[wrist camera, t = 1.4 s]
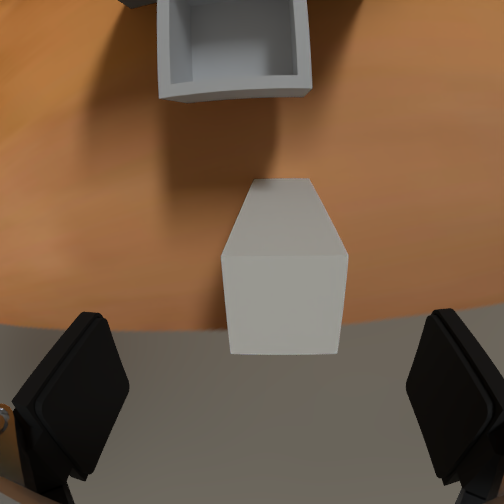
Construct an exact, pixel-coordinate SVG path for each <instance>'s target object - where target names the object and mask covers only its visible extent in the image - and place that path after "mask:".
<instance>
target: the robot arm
mask: <svg viewBox="0 0 504 504" xmlns="http://www.w3.org/2000/svg"><path fill="white" fill-rule="evenodd" d="M406 391H407V394H408V397H409V400H410V402H411V405H412V407H413V410H414V413H415V415H416V418H417V420H418V423H419V426H420V429H421V432H422V434H423V437H424V440H425V443H426V446H427V449H428V452H429V455H430V458H431V461H432V464H433V467H434V470H435V473H436V475H437V477H438V478H442V481H443V484H444V486H445V485H448V484H451V483H454V482H457V481H460V483H461V486H462V488H461V491H460V493H459V495H458V498H457V500H456V502H455V504H504V379H503V377H502V375H501V374H500V372H499V371H498V369H497V368H496V366H495V365H494V364H493V362H492V361H491V359H490V358H489V356H488V355H487V354H486V352H485V351H484V349H483V348H482V347H481V345H480V344H479V342H478V341H477V340H476V338H475V337H474V336H473V334H472V333H471V332H470V330H469V329H468V328H467V326H466V325H465V324H464V323H463V321H462V320H461V319H460V317H459V316H458V315H457V314H456V312H455V311H454V310H453V309H451V308H448V309H438V310H434V311H433V312H432V314H431V315H430V316H428V317H427V319H426V322H425V325H424V329H423V333H422V336H421V339H420V343H419V346H418V349H417V352H416V355H415V358H414V362H413V364H412V367H411V370H410V373H409V376H408V379H407V382H406ZM128 392H129V381H128V378H127V376H126V373H125V371H124V368H123V366H122V363H121V360H120V357H119V354H118V351H117V349H116V346H115V343H114V340H113V337H112V334H111V331H110V328H109V324H108V322H107V320H106V319H105V318H103V316H102V315H101V314H100V313H93V312H82V313H81V314H80V315H79V316H78V317H77V318H76V319H75V321H74V322H73V323H72V324H71V325H70V326H69V328H68V329H67V330H66V331H65V333H64V334H63V335H62V336H61V337H60V339H59V340H58V341H57V342H56V344H55V345H54V346H53V347H52V349H51V350H50V351H49V352H48V354H47V355H46V356H45V357H44V359H43V360H42V361H41V362H40V364H39V365H38V366H37V368H36V369H35V370H34V371H33V373H32V374H31V375H30V377H29V378H28V379H27V381H26V382H25V383H24V385H23V386H22V388H21V389H20V390H19V392H18V393H17V395H16V396H15V397H14V398H13V400H12V403H13V405H14V406H15V407H16V408H15V409H14V411H12V410H11V409H10V407H9V406H7V405H5V404H0V504H75V503H74V500H73V497H72V495H71V492H70V489H69V486H68V484H67V478H68V476H69V475H70V476H71V477H73V478H76V479H79V480H82V481H86V479H87V476H88V474H92V473H93V471H94V470H95V467H96V465H97V462H98V460H99V458H100V455H101V453H102V451H103V448H104V446H105V444H106V441H107V439H108V437H109V434H110V432H111V430H112V427H113V425H114V423H115V421H116V419H117V417H118V414H119V412H120V410H121V408H122V405H123V403H124V401H125V399H126V397H127V395H128Z"/></svg>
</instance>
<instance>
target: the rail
mask: <svg viewBox="0 0 504 504" xmlns="http://www.w3.org/2000/svg"><path fill="white" fill-rule="evenodd" d="M221 263H222V275H223V285H224V296H225V306H226V316H227V326H228V336H229V344H230V353H231V354H252V355H307V354H336V353H337V350H338V344H339V337H340V330H341V322H342V314H343V306H344V297H345V288H346V278H347V267H348V253H347V251H346V249H345V247H344V245H343V243H342V241H341V239H340V237H339V235H338V233H337V231H336V229H335V227H334V225H333V223H332V221H331V219H330V217H329V215H328V213H327V211H326V209H325V207H324V205H323V204H322V202H321V200H320V198H319V196H318V194H317V192H316V190H315V188H314V187H313V185H312V183H311V181H310V179H309V178H280V179H254V180H253V182H252V185H251V187H250V189H249V192H248V194H247V196H246V198H245V201H244V203H243V205H242V208H241V210H240V212H239V215H238V217H237V219H236V222H235V224H234V226H233V229H232V231H231V234H230V236H229V238H228V241H227V243H226V245H225V248H224V250H223V253H222V255H221Z"/></svg>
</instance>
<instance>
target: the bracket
mask: <svg viewBox="0 0 504 504" xmlns="http://www.w3.org/2000/svg"><path fill="white" fill-rule="evenodd" d="M118 1H120V2H121V3H123V4H125V5H126V6H128V7H129V8H131V9H132V8H136V7H140V6H144V5H148V4H152V3H156V2H157V63H158V90H159V99H165V100H171V101H177V102H183V103H195V102H205V101H216V100H229V99H245V98H270V97H304V96H305V95H306V94H307V93H308V92H309V91H310V90H311V89H312V69H311V51H310V36H309V23H308V11H307V0H118Z"/></svg>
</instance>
